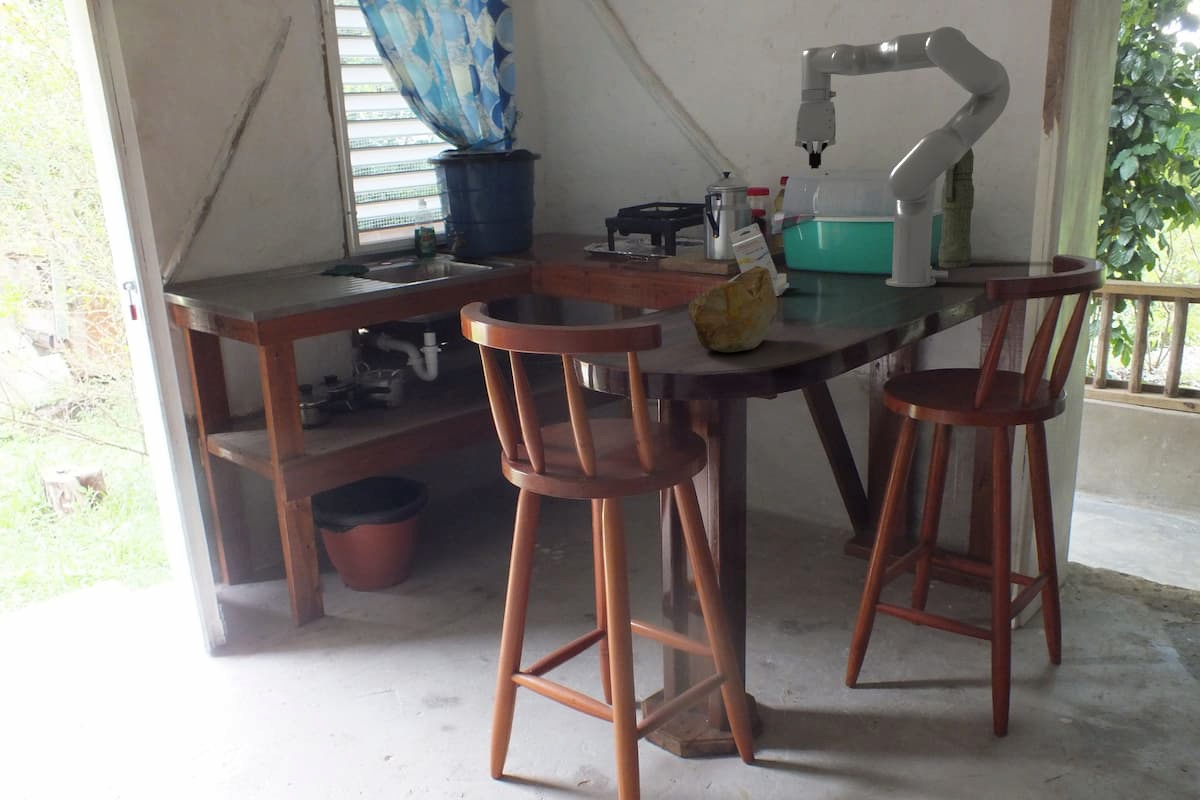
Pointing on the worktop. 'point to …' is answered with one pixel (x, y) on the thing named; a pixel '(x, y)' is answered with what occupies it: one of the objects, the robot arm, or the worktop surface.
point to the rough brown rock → (735, 312)
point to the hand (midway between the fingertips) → (814, 168)
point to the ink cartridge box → (752, 250)
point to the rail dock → (776, 283)
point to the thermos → (957, 213)
